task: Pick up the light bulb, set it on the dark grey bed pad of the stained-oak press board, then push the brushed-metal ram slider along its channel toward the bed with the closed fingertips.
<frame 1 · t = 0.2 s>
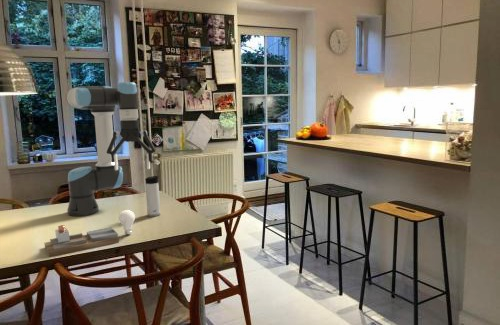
hand: (132, 169, 176), 28 cm above the table, fingers open, 13 cm apart
press base: (82, 244, 166), on the table
ram slider: (62, 234, 161), point 6 cm above the table, slide at 0.0 cm
light bulb: (128, 235, 177), on the table
travel mug: (154, 215, 206), on the table
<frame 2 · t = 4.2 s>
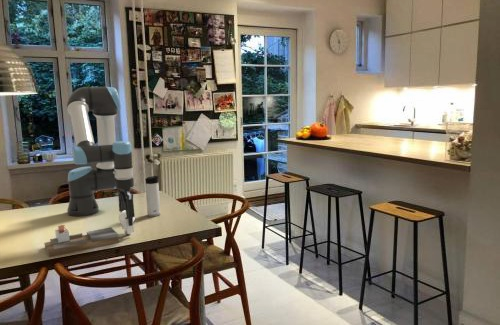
hand: (127, 230, 177), 2 cm above the table, fingers closed on light bulb, 6 cm apart
light bulb: (128, 235, 177), on the table, touching gripper
everything else where it was.
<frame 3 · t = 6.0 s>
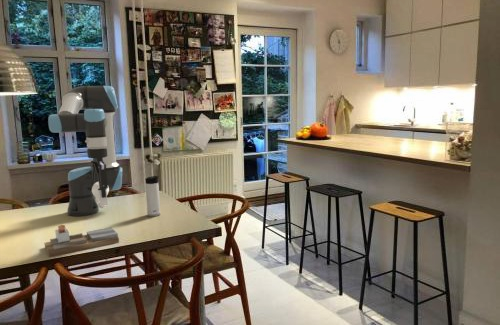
hand: (101, 203, 168), 16 cm above the table, fingers closed on light bulb, 6 cm apart
light bulb: (101, 208, 169), point 14 cm above the table, touching gripper
everything else where it was.
when the fingers open (7 cm above the table, at t = 8.1 s): light bulb drops 1 cm, resting on press base.
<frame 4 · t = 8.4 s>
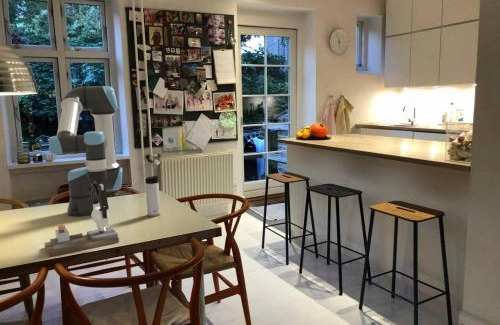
hand: (101, 222, 169), 8 cm above the table, fingers open, 11 cm apart
light bulb: (102, 232, 170), point 3 cm above the table, touching press base
everything else where it was.
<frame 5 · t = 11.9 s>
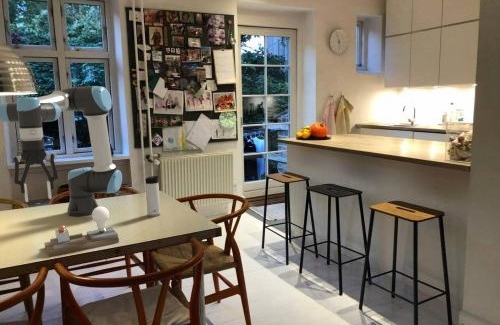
hand: (38, 199, 155), 21 cm above the table, fingers open, 7 cm apart
nothing on the table moved.
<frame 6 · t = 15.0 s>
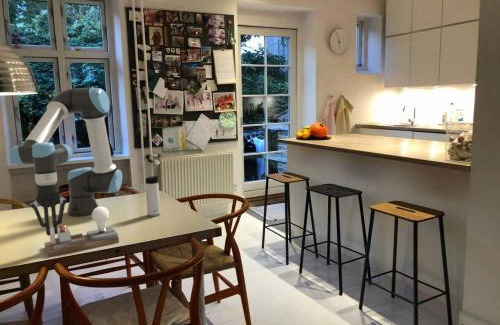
hand: (53, 242, 160), 3 cm above the table, fingers closed
ram slider: (63, 234, 162), point 6 cm above the table, slide at 0.5 cm, touching gripper
everything else where it was.
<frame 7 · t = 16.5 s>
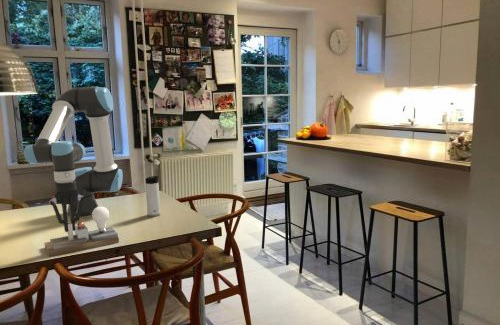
hand: (70, 238, 163), 3 cm above the table, fingers closed
ram slider: (81, 231, 165), point 6 cm above the table, slide at 7.0 cm, touching gripper
everything else where it was.
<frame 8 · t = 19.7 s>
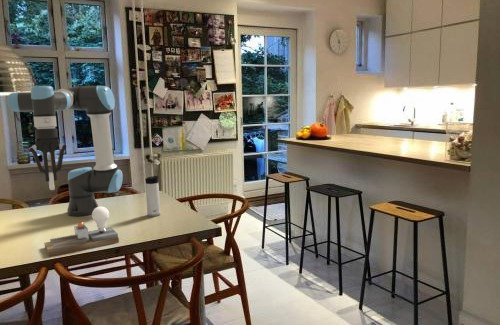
hand: (52, 189, 157), 24 cm above the table, fingers closed
ram slider: (81, 231, 165), point 6 cm above the table, slide at 7.0 cm
everything else where it was.
at the end: light bulb inside the target area (0.3 cm from its centre), point 3.3 cm above the table; ram slider slide at 7.0 cm; the gripper is holding nothing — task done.
